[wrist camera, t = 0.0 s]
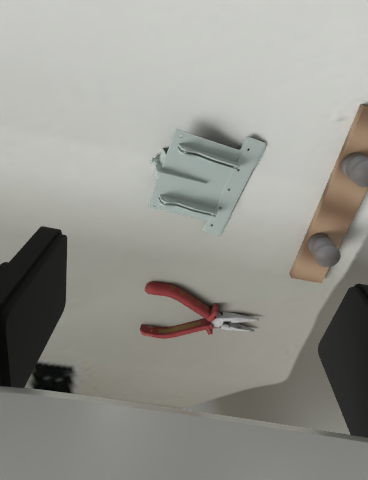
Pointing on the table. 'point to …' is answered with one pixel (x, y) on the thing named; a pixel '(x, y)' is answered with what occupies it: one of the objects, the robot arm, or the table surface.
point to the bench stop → (336, 205)
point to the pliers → (208, 313)
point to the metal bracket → (203, 178)
